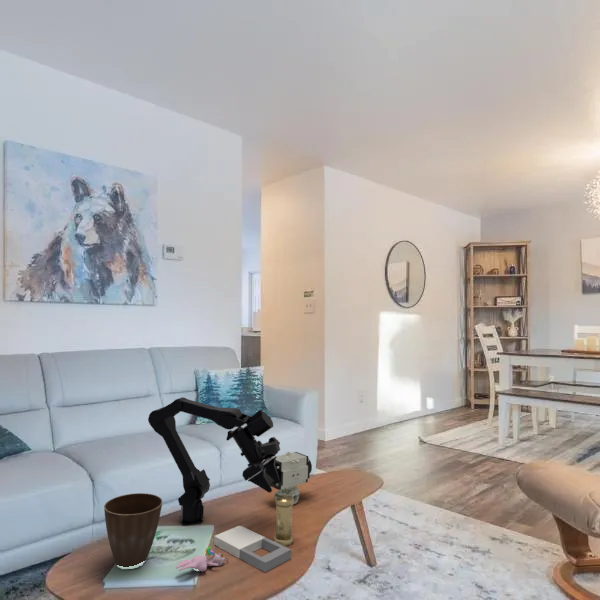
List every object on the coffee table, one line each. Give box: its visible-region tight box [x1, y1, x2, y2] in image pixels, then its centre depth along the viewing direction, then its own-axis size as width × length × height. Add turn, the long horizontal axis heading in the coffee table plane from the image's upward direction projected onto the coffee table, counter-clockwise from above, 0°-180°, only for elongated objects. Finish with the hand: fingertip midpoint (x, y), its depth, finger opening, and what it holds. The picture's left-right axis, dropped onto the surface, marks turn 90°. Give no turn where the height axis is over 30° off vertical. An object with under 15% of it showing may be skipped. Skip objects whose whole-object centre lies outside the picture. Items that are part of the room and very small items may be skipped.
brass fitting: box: [273, 495, 295, 547], centre depth 143 cm, size 6×6×13 cm
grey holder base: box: [213, 525, 292, 573], centre depth 136 cm, size 22×10×2 cm, turn 49°
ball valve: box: [265, 451, 313, 505], centre depth 174 cm, size 18×8×18 cm, turn 131°
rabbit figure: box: [175, 546, 229, 572], centre depth 126 cm, size 6×6×15 cm
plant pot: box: [103, 492, 163, 567], centre depth 128 cm, size 15×15×16 cm
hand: (274, 486), depth 149 cm, fingers open, 9 cm apart
